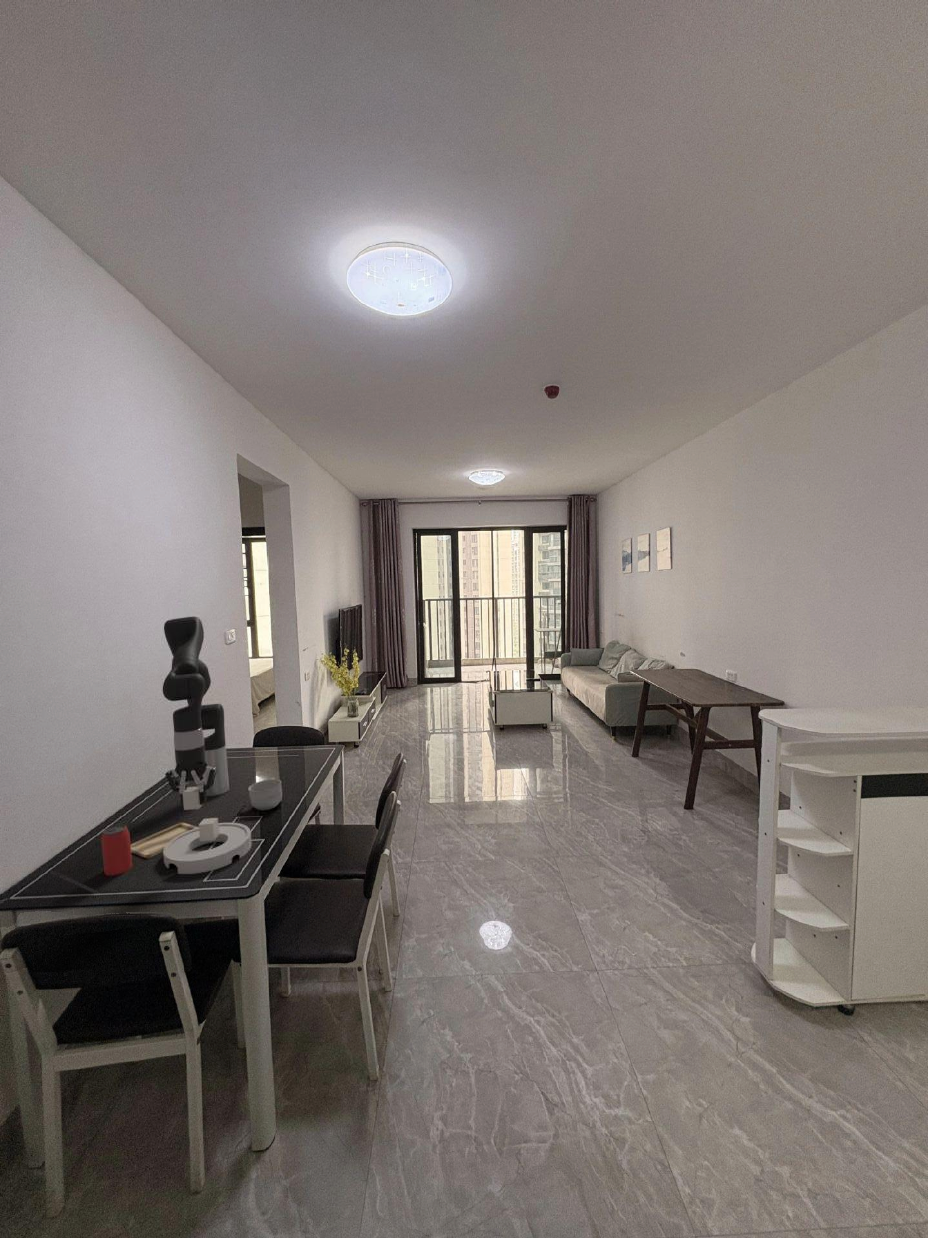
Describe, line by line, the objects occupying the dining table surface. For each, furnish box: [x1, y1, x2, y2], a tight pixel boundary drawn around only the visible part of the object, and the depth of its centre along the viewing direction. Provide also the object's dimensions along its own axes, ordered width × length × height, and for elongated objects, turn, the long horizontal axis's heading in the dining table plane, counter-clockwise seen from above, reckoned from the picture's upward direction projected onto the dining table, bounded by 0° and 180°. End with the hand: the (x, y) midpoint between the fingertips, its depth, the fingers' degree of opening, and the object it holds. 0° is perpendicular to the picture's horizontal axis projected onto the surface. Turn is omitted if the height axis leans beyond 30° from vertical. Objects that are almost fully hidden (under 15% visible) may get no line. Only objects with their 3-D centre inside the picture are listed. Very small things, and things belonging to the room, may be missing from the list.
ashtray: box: [162, 822, 253, 875], centre depth 160 cm, size 23×23×4 cm
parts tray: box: [130, 821, 199, 859], centre depth 167 cm, size 12×18×1 cm, turn 150°
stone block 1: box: [182, 786, 203, 811], centre depth 155 cm, size 4×4×5 cm
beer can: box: [101, 824, 133, 876], centre depth 151 cm, size 7×7×12 cm
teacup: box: [247, 777, 283, 811], centre depth 192 cm, size 14×11×8 cm
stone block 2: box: [198, 817, 219, 842], centre depth 161 cm, size 4×4×5 cm
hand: (194, 804), depth 156 cm, fingers closed on stone block 1, 4 cm apart
